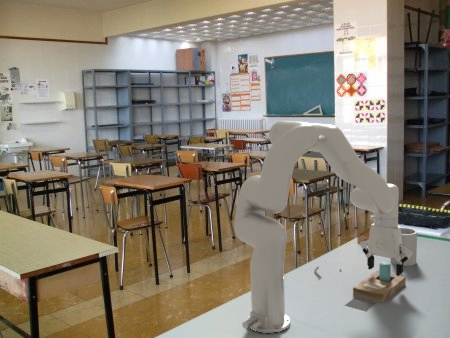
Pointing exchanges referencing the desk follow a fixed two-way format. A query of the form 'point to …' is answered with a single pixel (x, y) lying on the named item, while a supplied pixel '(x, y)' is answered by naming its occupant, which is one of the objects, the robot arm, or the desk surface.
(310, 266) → the desk surface
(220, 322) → the desk surface
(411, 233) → the cup
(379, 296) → the wooden peg hole block
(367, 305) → the pad
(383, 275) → the peg
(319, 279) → the pliers
